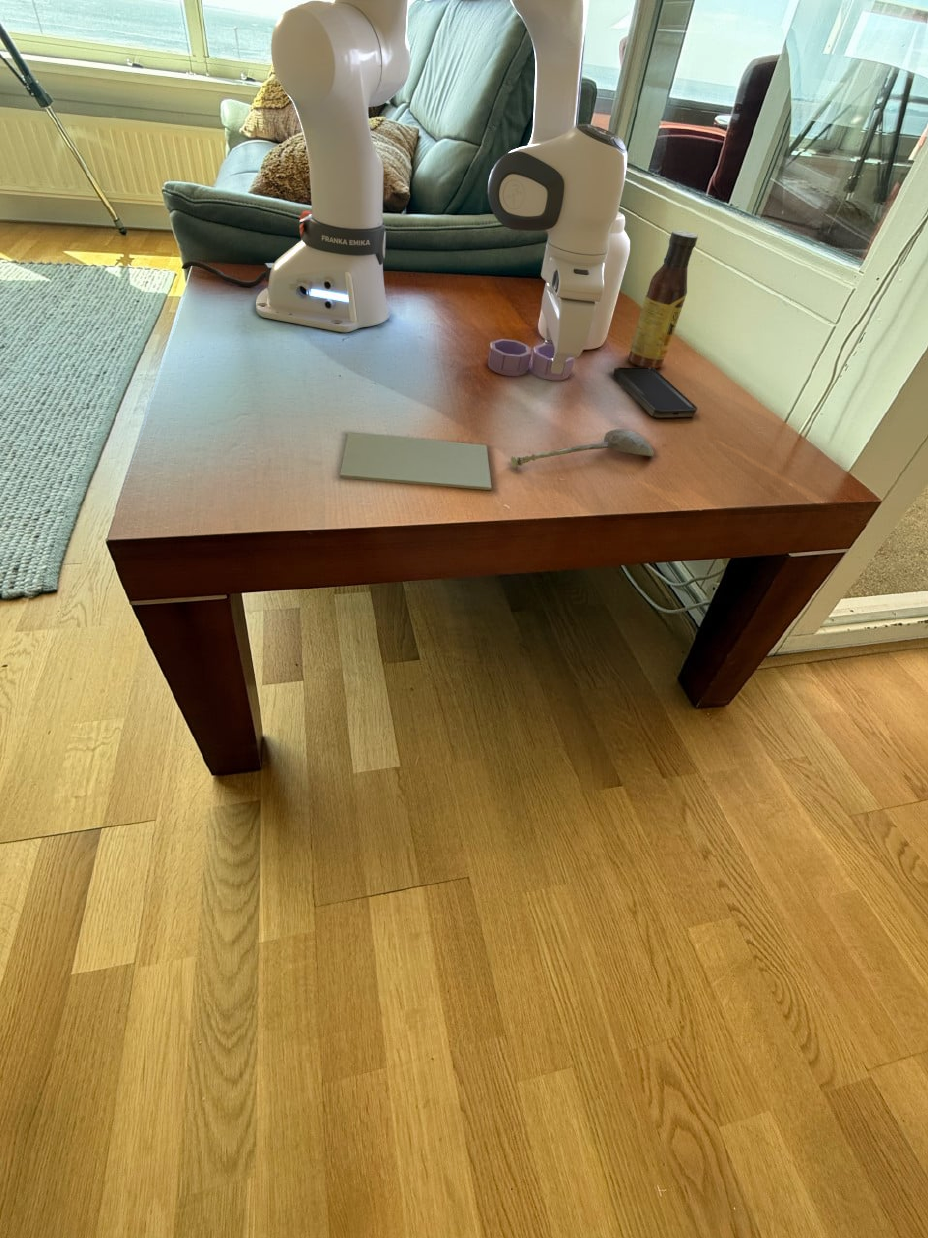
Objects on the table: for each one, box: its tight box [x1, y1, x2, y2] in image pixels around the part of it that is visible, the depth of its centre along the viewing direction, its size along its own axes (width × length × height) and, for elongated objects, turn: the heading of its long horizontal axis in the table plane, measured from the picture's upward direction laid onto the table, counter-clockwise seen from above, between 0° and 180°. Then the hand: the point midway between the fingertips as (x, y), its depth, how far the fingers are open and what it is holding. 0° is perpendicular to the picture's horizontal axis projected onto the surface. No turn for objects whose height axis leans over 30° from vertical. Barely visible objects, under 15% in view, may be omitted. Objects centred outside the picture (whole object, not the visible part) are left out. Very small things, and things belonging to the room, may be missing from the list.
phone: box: [612, 366, 698, 419], centre depth 100 cm, size 8×1×15 cm
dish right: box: [530, 343, 576, 381], centre depth 102 cm, size 6×6×3 cm
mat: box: [339, 432, 492, 491], centre depth 78 cm, size 18×10×1 cm, turn 92°
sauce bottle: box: [628, 230, 698, 369], centre depth 103 cm, size 6×6×20 cm
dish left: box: [487, 338, 532, 377], centre depth 101 cm, size 6×6×3 cm
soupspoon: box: [510, 428, 655, 470], centre depth 83 cm, size 22×3×7 cm
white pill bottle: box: [537, 211, 631, 350], centre depth 108 cm, size 12×12×20 cm
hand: (552, 361), depth 101 cm, fingers closed on dish right, 6 cm apart
